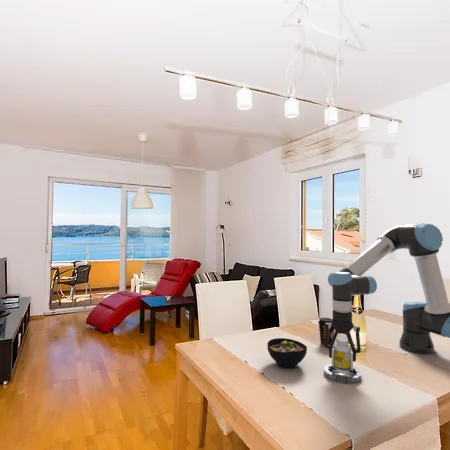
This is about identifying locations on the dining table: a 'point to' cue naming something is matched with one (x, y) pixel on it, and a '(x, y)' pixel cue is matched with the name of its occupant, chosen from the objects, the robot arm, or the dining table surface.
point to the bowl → (286, 352)
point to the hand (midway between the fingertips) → (342, 367)
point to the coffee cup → (323, 330)
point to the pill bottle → (342, 355)
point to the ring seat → (342, 375)
